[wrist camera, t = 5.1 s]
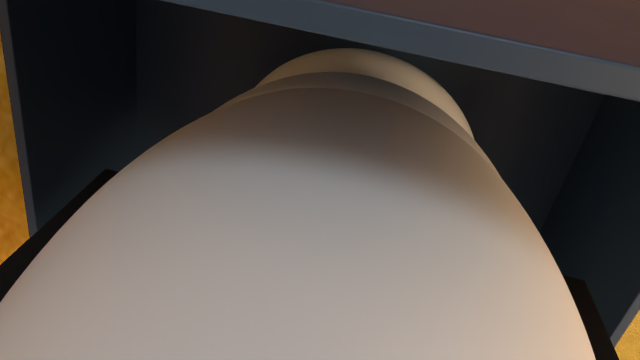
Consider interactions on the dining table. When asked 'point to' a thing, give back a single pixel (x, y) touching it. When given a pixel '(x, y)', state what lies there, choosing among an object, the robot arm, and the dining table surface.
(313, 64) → the jar
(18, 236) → the dining table surface
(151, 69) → the carton
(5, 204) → the dining table surface
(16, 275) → the robot arm
